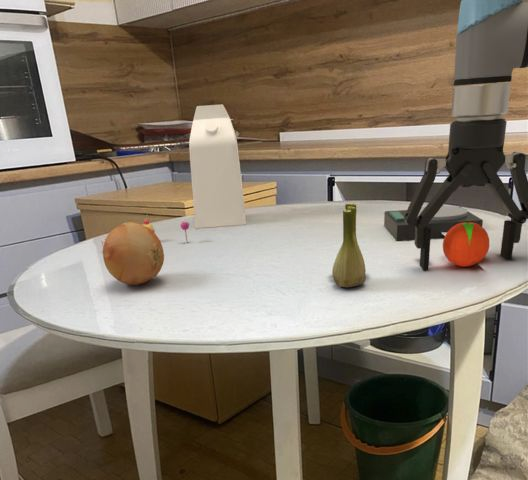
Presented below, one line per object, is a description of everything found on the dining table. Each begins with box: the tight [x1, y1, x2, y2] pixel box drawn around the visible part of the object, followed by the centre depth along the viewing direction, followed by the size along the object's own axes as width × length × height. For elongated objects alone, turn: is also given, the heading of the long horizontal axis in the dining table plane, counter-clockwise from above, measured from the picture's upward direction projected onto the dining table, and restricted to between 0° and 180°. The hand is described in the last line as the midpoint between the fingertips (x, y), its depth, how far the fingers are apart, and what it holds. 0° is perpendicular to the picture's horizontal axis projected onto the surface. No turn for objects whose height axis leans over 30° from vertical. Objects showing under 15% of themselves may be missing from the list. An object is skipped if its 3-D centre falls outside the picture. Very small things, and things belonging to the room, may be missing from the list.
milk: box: [188, 103, 247, 229], centre depth 125 cm, size 12×12×26 cm
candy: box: [100, 213, 190, 248], centre depth 112 cm, size 18×8×6 cm, turn 109°
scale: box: [383, 205, 484, 242], centre depth 108 cm, size 16×14×4 cm
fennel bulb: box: [331, 203, 367, 288], centre depth 78 cm, size 6×5×12 cm
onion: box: [102, 221, 165, 286], centre depth 87 cm, size 10×10×10 cm
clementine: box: [442, 221, 490, 268], centre depth 83 cm, size 8×7×7 cm
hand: (464, 265), depth 85 cm, fingers open, 12 cm apart
